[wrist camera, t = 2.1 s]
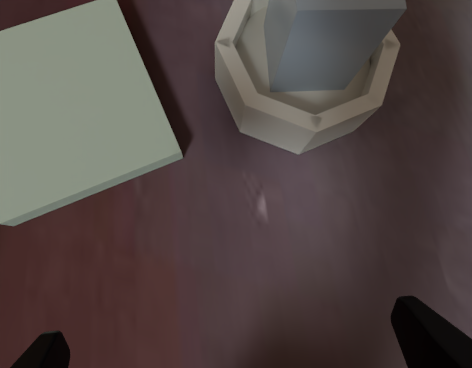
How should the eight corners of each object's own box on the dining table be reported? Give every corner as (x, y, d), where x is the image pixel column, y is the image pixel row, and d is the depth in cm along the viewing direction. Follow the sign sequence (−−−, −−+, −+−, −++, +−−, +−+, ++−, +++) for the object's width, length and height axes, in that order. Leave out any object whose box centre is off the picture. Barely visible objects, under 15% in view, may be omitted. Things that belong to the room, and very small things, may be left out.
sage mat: (183, 157, 24) (181, 151, 22) (13, 226, 22) (-1, 223, 21) (119, 9, 26) (114, -6, 25) (-39, 61, 24) (-56, 48, 23)
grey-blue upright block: (344, 89, 22) (407, 8, 15) (270, 92, 22) (297, 10, 15) (334, 23, 23) (388, -83, 16) (263, 25, 23) (286, -83, 16)
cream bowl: (389, 116, 25) (425, 87, 21) (258, 171, 24) (267, 152, 20) (324, -1, 27) (344, -51, 23) (198, 43, 26) (194, -1, 21)
